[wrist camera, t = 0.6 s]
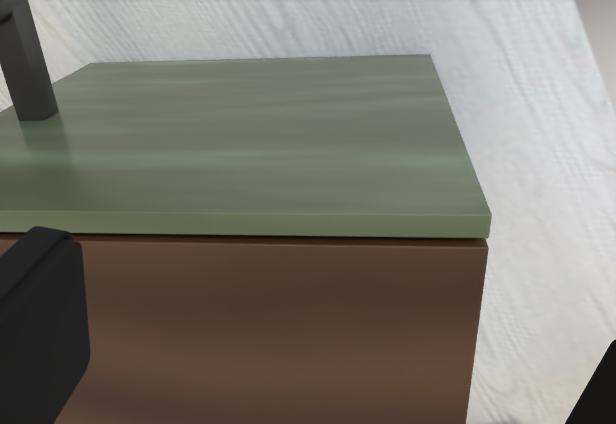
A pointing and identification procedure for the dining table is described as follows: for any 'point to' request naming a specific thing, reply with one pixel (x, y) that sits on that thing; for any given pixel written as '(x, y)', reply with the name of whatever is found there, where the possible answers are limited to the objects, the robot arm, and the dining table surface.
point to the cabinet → (277, 329)
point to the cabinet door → (232, 146)
